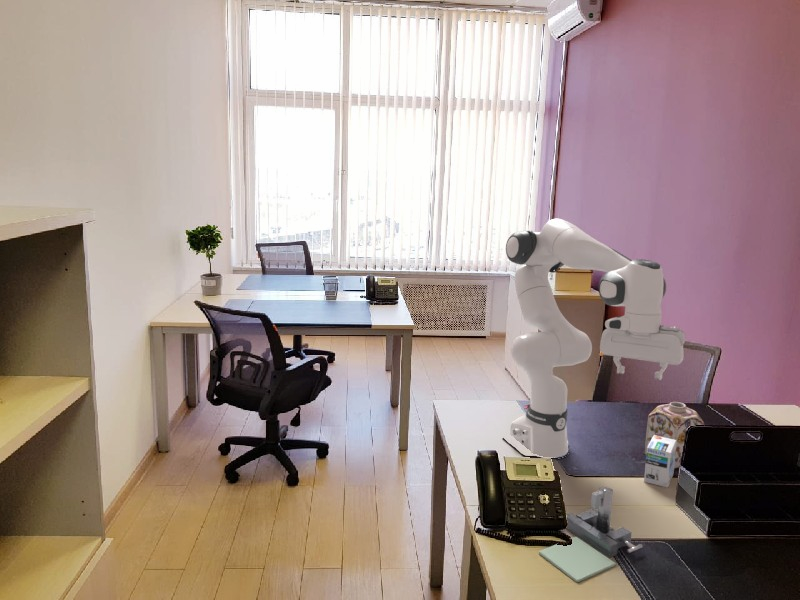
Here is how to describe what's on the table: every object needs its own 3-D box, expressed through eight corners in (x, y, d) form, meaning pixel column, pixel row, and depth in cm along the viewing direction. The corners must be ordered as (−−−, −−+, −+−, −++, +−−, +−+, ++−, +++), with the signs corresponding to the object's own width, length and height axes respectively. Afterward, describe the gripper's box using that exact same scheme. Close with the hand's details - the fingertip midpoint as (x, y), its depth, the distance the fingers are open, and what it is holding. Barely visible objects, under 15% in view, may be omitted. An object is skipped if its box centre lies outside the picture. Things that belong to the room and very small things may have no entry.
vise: (563, 526, 155) (563, 515, 155) (588, 516, 160) (588, 506, 159) (618, 563, 141) (619, 551, 140) (644, 551, 145) (645, 540, 144)
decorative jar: (701, 463, 189) (707, 408, 185) (672, 470, 185) (678, 413, 181) (670, 447, 200) (676, 395, 196) (642, 453, 195) (648, 400, 192)
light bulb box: (668, 488, 174) (671, 453, 172) (642, 482, 178) (646, 447, 175) (674, 473, 183) (677, 439, 181) (650, 467, 186) (653, 434, 184)
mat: (538, 553, 144) (538, 551, 144) (575, 538, 150) (575, 536, 150) (577, 582, 134) (577, 580, 134) (615, 565, 140) (615, 563, 140)
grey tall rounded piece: (581, 533, 152) (585, 489, 150) (601, 525, 156) (605, 482, 153) (599, 545, 147) (603, 499, 145) (619, 537, 151) (623, 492, 148)
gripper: (688, 326, 154) (685, 380, 156) (607, 317, 166) (604, 367, 168) (682, 330, 149) (678, 385, 151) (599, 320, 161) (596, 372, 163)
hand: (639, 376), depth 160 cm, fingers open, 8 cm apart
